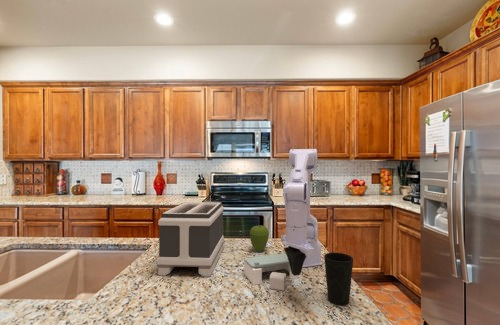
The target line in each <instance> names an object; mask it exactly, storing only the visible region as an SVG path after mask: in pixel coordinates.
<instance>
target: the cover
mask: <svg viewBox="0 0 500 325" xmlns="http://www.w3.org/2000/svg"><path fill="white" fill-rule="evenodd" d="M244 260H245V261H246V262H247V263H248V264H249V265H250V266H251V267H259V266H266V265H273V264H280V263H287V262H289V260H288V257H287V255H286V253H285V252H283V253H277V254H275V253H274V254H270V255H269V254H268V255H262V256H260V255H259V256H251V257H245V258H243V261H244Z"/></svg>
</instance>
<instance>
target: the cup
mask: <svg viewBox="0 0 500 325" xmlns="http://www.w3.org/2000/svg"><path fill="white" fill-rule="evenodd" d="M323 256H324V257H323V258H324V268H325V281H326V291H327V292H326V293H327V300H328V302H330V303H331V304H332V305H335V306H339V307H340V306H341V307H343V306H347V305H349V304H350V298H351V286H352V277H353V268H354V267H353V266H354V258H353V257H352V255H349V254H346V253H342V252H327V253H325V254H324V255H323Z"/></svg>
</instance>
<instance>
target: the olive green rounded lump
mask: <svg viewBox="0 0 500 325" xmlns="http://www.w3.org/2000/svg"><path fill="white" fill-rule="evenodd" d="M269 234H270V233H269V229H268V228H267V227H266V226H265V225H260V224H259V225H255V226H252V227H251V228H250V231H249V240H250V242H251V245H252V248H253V249H254V250H255V251H256V252H258V253H260V252H261V253H262V252H264V250H265V248H266V247H267V244H268V240H269V236H270V235H269Z"/></svg>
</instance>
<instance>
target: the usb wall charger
mask: <svg viewBox="0 0 500 325" xmlns="http://www.w3.org/2000/svg"><path fill="white" fill-rule="evenodd" d="M294 284H295V280H292V279H288V278H287V274H286V273H285V272H284V273H283V272H277V271H271V273H270V274H269V289H271V290H277V291H282V292H283V291H285V290H286V287H287V286H291V287H293V286H294Z"/></svg>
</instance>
